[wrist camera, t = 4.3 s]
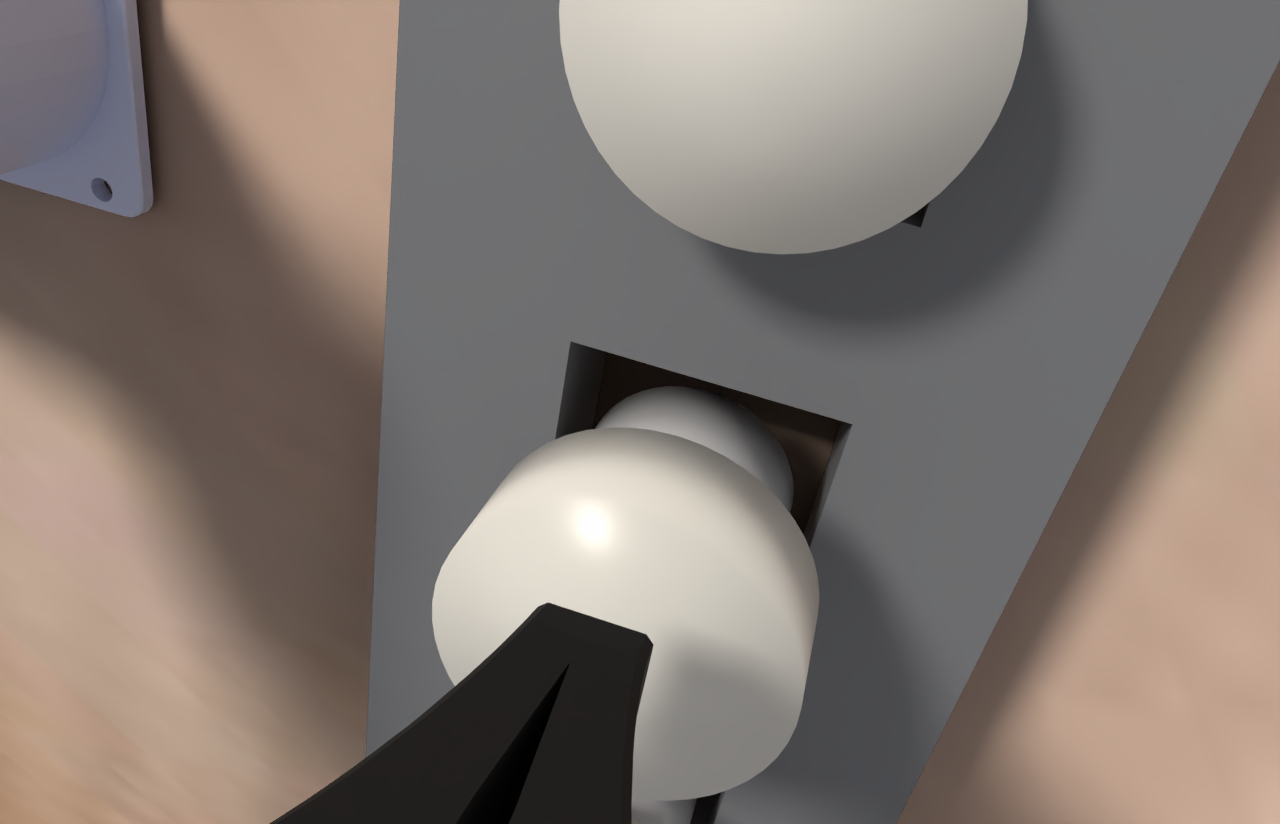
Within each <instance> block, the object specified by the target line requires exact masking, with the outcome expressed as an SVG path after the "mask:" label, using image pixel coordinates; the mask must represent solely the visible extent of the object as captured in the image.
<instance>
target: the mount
mask: <svg viewBox="0 0 1280 824" xmlns="http://www.w3.org/2000/svg"><path fill="white" fill-rule="evenodd" d="M559 3H560V0H400V6H399V28H398V50H397V73H396V95H395V117H394V139H393V161H392V183H391V206H390V228H389V250H388V272H387V294H386V317H385V339H384V361H383V383H382V405H381V427H380V450H379V472H378V494H377V516H376V538H375V561H374V583H373V605H372V627H371V649H370V671H369V694H368V716H367V738H366V757H368V756H369V755H370V754H372V753H373V752H374V751H375V750H377V749H378V748H379V747H381V746H382V745H383V744H385V743H386V742H387V741H389V740H390V739H391V738H393V737H394V736H395V735H396V734H398V733H399V732H400V731H402V730H403V729H404V728H406V727H407V726H408V725H410V724H411V723H412V722H413V721H415V720H416V719H417V718H418V717H419V716H421V715H422V714H423V713H424V712H425V711H427V710H428V709H429V708H430V707H431V706H432V705H434V704H435V703H436V702H437V701H438V700H440V699H441V698H442V697H443V696H444V695H445V694H447V693H448V692H449V691H450V690H451V689H452V688H454V687H455V686H454V684H453V682H452V681H451V679H450V677H449V676H448V673H447V671H446V669H445V667H444V664H443V662H442V660H441V658H440V654H439V651H438V648H437V644H436V641H435V636H434V630H433V623H432V600H433V595H434V589H435V584H436V581H437V578H438V575H439V573H440V570H441V567H442V566H443V564H444V562H445V560H446V559H447V557H448V555H449V554H450V552H451V550H452V549H453V548H454V546H455V545H456V544H457V542H458V541H459V540H460V538H461V537H462V535H463V534H464V533H465V531H466V530H467V529H468V527H469V526H470V525H471V523H472V522H473V520H474V519H475V518H476V516H477V515H478V514H479V512H480V511H481V510H482V508H483V507H484V505H485V504H486V503H487V501H488V500H489V499H490V497H491V496H492V495H493V493H494V492H495V490H496V489H497V488H498V486H499V485H500V484H501V482H502V481H503V480H504V478H505V477H506V476H507V475H508V474H509V472H510V471H511V470H512V469H513V468H514V466H515V465H516V464H518V463H519V462H520V461H521V460H522V459H523V458H525V457H526V456H527V455H528V454H529V453H531V452H532V451H534V450H536V449H538V448H539V447H541V446H543V445H544V444H546V443H548V442H550V441H553V440H555V439H558V438H560V437H563V436H565V435H569V434H572V433H576V432H580V431H584V430H591V429H593V425H594V420H595V414H596V409H597V403H598V398H599V392H600V387H601V381H602V376H603V370H604V365H605V359H606V354H607V352H608V353H612V354H615V355H619V356H622V357H625V358H629V359H632V360H636V361H639V362H642V363H646V364H649V365H653V366H656V367H659V368H663V369H666V370H670V371H673V372H676V373H680V374H683V375H687V376H690V377H693V378H697V379H700V380H704V381H707V382H710V383H714V384H717V385H721V386H724V387H727V388H731V389H734V390H738V391H741V392H744V393H748V394H751V395H755V396H758V397H761V398H765V399H768V400H772V401H775V402H778V403H782V404H785V405H789V406H792V407H795V408H799V409H802V410H805V411H809V412H812V413H816V414H819V415H822V416H826V417H829V418H833V419H836V420H839V421H841V424H840V427H839V430H838V433H837V436H836V439H835V442H834V445H833V448H832V451H831V454H830V457H829V460H828V463H827V466H826V468H825V471H824V474H823V477H822V480H821V483H820V486H819V489H818V492H817V495H816V498H815V501H814V504H813V507H812V510H811V513H810V516H809V519H808V522H807V524H806V527H805V530H804V533H803V535H804V537H805V539H806V541H807V544H808V546H809V549H810V551H811V554H812V556H813V559H814V563H815V567H816V571H817V576H818V584H819V608H818V617H817V623H816V629H815V634H814V640H813V645H812V651H811V657H810V662H809V668H808V674H807V679H806V685H805V691H804V696H803V702H802V707H801V711H800V715H799V718H798V722H797V726H796V728H795V730H794V732H793V734H792V736H791V738H790V740H789V742H788V744H787V745H786V746H785V748H784V749H783V750H782V752H781V753H780V754H779V756H778V757H777V758H776V759H775V760H774V761H773V762H772V763H771V764H770V765H769V766H768V767H767V768H765V769H764V770H763V771H762V772H760V773H759V774H757V775H756V776H754V777H753V778H751V779H750V780H748V781H747V782H744V783H742V784H740V785H738V786H736V787H734V788H732V789H729V790H726V791H723V792H720V793H717V794H715V795H710V796H705V797H700V798H697V800H696V804H695V808H694V812H693V815H692V819H691V823H690V824H896V822H897V820H898V818H899V816H900V814H901V812H902V810H903V808H904V806H905V804H906V802H907V800H908V798H909V796H910V794H911V792H912V790H913V788H914V787H915V785H916V783H917V781H918V779H919V777H920V775H921V773H922V771H923V769H924V767H925V765H926V763H927V761H928V759H929V757H930V755H931V753H932V751H933V749H934V747H935V745H936V743H937V741H938V739H939V737H940V735H941V733H942V731H943V729H944V727H945V725H946V723H947V721H948V719H949V717H950V715H951V713H952V711H953V709H954V707H955V705H956V703H957V701H958V699H959V697H960V695H961V693H962V691H963V689H964V687H965V685H966V683H967V681H968V679H969V677H970V675H971V673H972V671H973V669H974V667H975V665H976V663H977V661H978V659H979V657H980V655H981V653H982V651H983V649H984V647H985V645H986V643H987V641H988V639H989V637H990V635H991V633H992V631H993V629H994V627H995V625H996V623H997V621H998V619H999V617H1000V615H1001V614H1002V612H1003V610H1004V608H1005V606H1006V604H1007V602H1008V600H1009V598H1010V596H1011V594H1012V592H1013V590H1014V588H1015V586H1016V584H1017V582H1018V580H1019V578H1020V576H1021V574H1022V572H1023V570H1024V568H1025V566H1026V564H1027V562H1028V560H1029V558H1030V556H1031V554H1032V552H1033V550H1034V548H1035V546H1036V544H1037V542H1038V540H1039V538H1040V536H1041V534H1042V532H1043V530H1044V528H1045V526H1046V524H1047V522H1048V520H1049V518H1050V516H1051V514H1052V512H1053V510H1054V508H1055V506H1056V504H1057V502H1058V500H1059V498H1060V496H1061V494H1062V492H1063V490H1064V488H1065V486H1066V484H1067V482H1068V480H1069V478H1070V476H1071V474H1072V472H1073V470H1074V468H1075V466H1076V464H1077V462H1078V460H1079V458H1080V456H1081V454H1082V452H1083V450H1084V448H1085V446H1086V444H1087V442H1088V440H1089V439H1090V437H1091V435H1092V433H1093V431H1094V429H1095V427H1096V425H1097V423H1098V421H1099V419H1100V417H1101V415H1102V413H1103V411H1104V409H1105V407H1106V405H1107V403H1108V401H1109V399H1110V397H1111V395H1112V393H1113V391H1114V389H1115V387H1116V385H1117V383H1118V381H1119V379H1120V377H1121V375H1122V373H1123V371H1124V369H1125V367H1126V365H1127V363H1128V361H1129V359H1130V357H1131V355H1132V353H1133V351H1134V349H1135V347H1136V345H1137V343H1138V341H1139V339H1140V337H1141V335H1142V333H1143V331H1144V329H1145V327H1146V325H1147V323H1148V321H1149V319H1150V317H1151V315H1152V313H1153V311H1154V309H1155V307H1156V305H1157V303H1158V301H1159V299H1160V297H1161V295H1162V293H1163V291H1164V289H1165V287H1166V285H1167V283H1168V281H1169V279H1170V277H1171V275H1172V273H1173V271H1174V269H1175V267H1176V266H1177V264H1178V262H1179V260H1180V258H1181V256H1182V254H1183V252H1184V250H1185V248H1186V246H1187V244H1188V242H1189V240H1190V238H1191V236H1192V234H1193V232H1194V230H1195V228H1196V226H1197V224H1198V222H1199V220H1200V218H1201V216H1202V214H1203V212H1204V210H1205V208H1206V206H1207V204H1208V202H1209V200H1210V198H1211V196H1212V194H1213V192H1214V190H1215V188H1216V186H1217V184H1218V182H1219V180H1220V178H1221V176H1222V174H1223V172H1224V170H1225V168H1226V166H1227V164H1228V162H1229V160H1230V158H1231V156H1232V154H1233V152H1234V150H1235V148H1236V146H1237V144H1238V142H1239V140H1240V138H1241V136H1242V134H1243V132H1244V130H1245V128H1246V126H1247V124H1248V122H1249V120H1250V118H1251V116H1252V114H1253V112H1254V110H1255V108H1256V106H1257V104H1258V102H1259V100H1260V98H1261V96H1262V94H1263V93H1264V91H1265V89H1266V87H1267V85H1268V83H1269V81H1270V79H1271V77H1272V75H1273V73H1274V71H1275V69H1276V67H1277V65H1278V63H1279V61H1280V0H1028V9H1027V24H1026V30H1025V36H1024V42H1023V48H1022V54H1021V58H1020V61H1019V65H1018V68H1017V71H1016V75H1015V78H1014V81H1013V85H1012V88H1011V90H1010V92H1009V95H1008V97H1007V99H1006V101H1005V104H1004V106H1003V108H1002V110H1001V113H1000V115H999V117H998V119H997V121H996V123H995V124H994V126H993V128H992V129H991V131H990V133H989V134H988V136H987V138H986V139H985V141H984V143H983V144H982V146H981V147H980V149H979V150H978V151H977V153H976V154H975V155H974V156H973V158H972V159H971V160H970V162H969V163H968V164H967V165H966V167H965V168H964V169H963V171H962V172H961V173H960V174H959V175H958V176H957V177H956V178H955V179H954V180H953V181H952V182H951V183H950V184H949V185H948V186H947V187H946V188H945V189H944V190H943V191H942V192H941V193H940V194H939V195H937V196H936V197H935V198H934V199H932V200H931V201H930V202H929V203H927V204H926V205H925V206H923V207H922V208H921V209H920V210H918V211H917V212H916V213H914V214H913V215H911V216H909V217H908V218H906V219H904V220H903V221H901V222H899V223H898V224H896V225H894V226H893V227H891V228H889V229H887V230H885V231H883V232H880V233H878V234H876V235H874V236H871V237H869V238H867V239H865V240H862V241H859V242H855V243H852V244H849V245H846V246H842V247H839V248H836V249H830V250H824V251H818V252H812V253H802V254H768V253H756V252H750V251H745V250H740V249H735V248H730V247H726V246H723V245H720V244H717V243H714V242H712V241H709V240H706V239H703V238H700V237H698V236H696V235H694V234H692V233H690V232H688V231H686V230H684V229H682V228H680V227H678V226H676V225H675V224H673V223H672V222H670V221H669V220H667V219H665V218H664V217H662V216H661V215H659V214H658V213H656V212H655V211H654V210H652V209H651V208H650V207H649V206H648V205H646V204H645V203H644V202H643V201H642V200H640V199H639V198H638V197H637V196H636V195H635V194H633V192H632V191H631V190H630V189H629V188H628V187H627V186H626V185H625V184H624V183H623V182H622V181H621V180H620V179H619V177H618V176H617V175H616V174H615V173H614V172H613V170H612V169H611V167H610V166H609V165H608V163H607V162H606V161H605V159H604V158H603V157H602V155H601V154H600V152H599V151H598V149H597V147H596V146H595V144H594V142H593V140H592V139H591V137H590V135H589V133H588V131H587V130H586V128H585V126H584V124H583V121H582V119H581V116H580V114H579V112H578V109H577V107H576V105H575V102H574V100H573V96H572V93H571V89H570V86H569V82H568V79H567V75H566V72H565V66H564V60H563V54H562V48H561V42H560V22H559Z"/></svg>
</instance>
